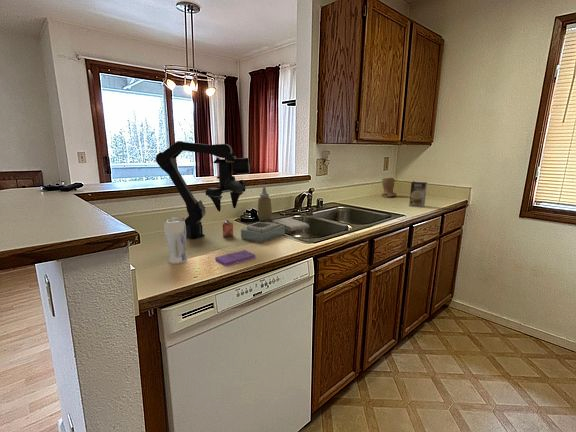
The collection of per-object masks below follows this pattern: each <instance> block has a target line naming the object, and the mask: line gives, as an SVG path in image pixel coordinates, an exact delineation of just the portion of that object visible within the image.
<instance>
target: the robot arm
mask: <svg viewBox="0 0 576 432" xmlns="http://www.w3.org/2000/svg"><path fill="white" fill-rule="evenodd" d="M183 151H184V152H189V153H190V152H191V153H201V154H209V155H212V156H214V157H216V158H215V160H213V164H218V175H217V176H216V179H217V180H218V184H219V185H217V187H210V188H209V187H208V188H206V189H205V192H204V193H205V196H208V198H210V200H211V201H212V203H213V205H214V206H215V208H216V210H217V211H218V212H221V208H222V205H221V200H222V198H223V194H224V193H229V194H230V198H231V205H232V208H233V209H235V208H237V204H238V200H239V198H240V197H241V195H242V194H244V192H246V180H244V179H240V180H236V177H235V175H233V172H235V174H236V175H250V173H251V165H250V158H249V157H243V158H242V157H239V158H238V157H237V156H236V155H235V154H234V152H233V148H232V146H231V145H230V144H227V143H219V144H218V143H217V144H206V143H205V144H204V143H195V142H188V141H183V140H177V141H176V142H174V143H173V144H172V145H171V146H169V147H168V148H166V149H165V150H164V151H161V152H158V153H157V154H156V156H155V162H156V164H157V165H158V166H159V167H160V168H161V170H163V171H164V172H165V173H166V174H167V175H168V176H169V178H170V180H171V181H172V184H173V185H174V187H175V188H176V190H177V191H178V193H179V195H180V197H181V198H182V200H183V201H184V203H185V207H186V211H187V214H188V216H187V217H186V218H184V219H185V226H186V238H188V239H192V240H194V239H198V238H201V237H205V234H204V233H203V232H204V231H203V223H202V219H203V218H204V217H205V215H206V212H207V211H206V207H207V206H205V205H204V204H203V201H202V200H199V201H198V200H197V199H196V197H195V196H194V195H193V193H192V191H191V190H190V188H189V186H188V184H187V183H186V181H185V179H184V178H183V176H182V174H181V173H180V171H179V168H178V164H177V160H176V159H177V157H178V156H179V155H181V153H182V152H183ZM220 158H222V159H220Z"/></svg>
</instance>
